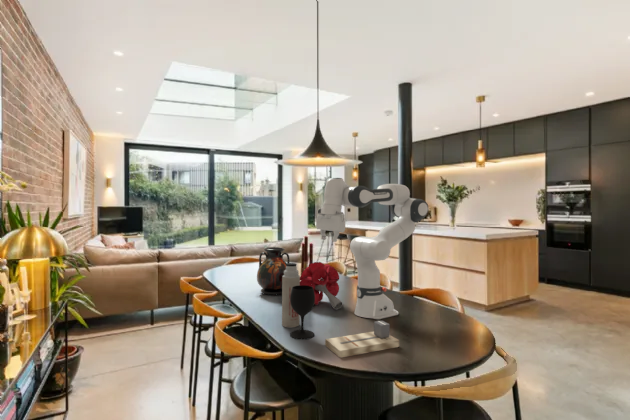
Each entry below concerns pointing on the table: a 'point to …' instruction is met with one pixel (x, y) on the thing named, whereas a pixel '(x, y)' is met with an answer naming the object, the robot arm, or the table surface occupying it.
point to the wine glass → (302, 308)
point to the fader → (381, 329)
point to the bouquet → (322, 282)
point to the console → (360, 344)
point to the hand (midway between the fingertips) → (328, 240)
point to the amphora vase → (272, 271)
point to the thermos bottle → (288, 283)
